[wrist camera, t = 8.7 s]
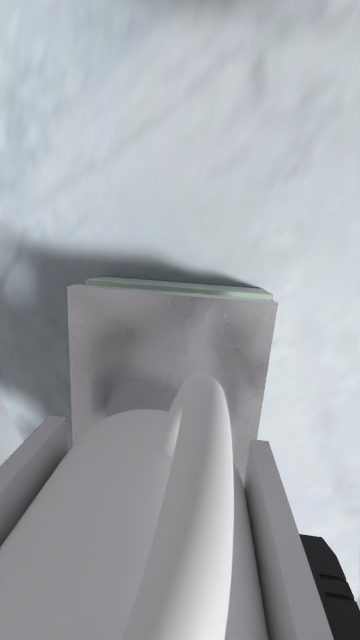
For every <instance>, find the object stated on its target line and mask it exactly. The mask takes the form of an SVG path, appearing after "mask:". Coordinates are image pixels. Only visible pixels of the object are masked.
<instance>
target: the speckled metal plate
mask: <svg viewBox="0 0 360 640" xmlns="http://www.w3.org/2000/svg"><path fill="white" fill-rule="evenodd" d="M67 306H68V335H69V364H70V392H71V421H72V446H73V445H74V444H75V442H76V441H77V440H78V439H79V438H80V437H81V436H82V435H83V434H84V433H85V432H86V431H87V430H88V429H89V428H91V427H92V426H93V425H95V424H96V423H98V422H100V421H101V420H103V419H106V418H108V417H110V416H112V415H115V414H118V413H121V412H125V411H130V410H139V409H154V410H162V411H167V412H169V410H170V408H171V406H172V404H173V401H174V399H175V397H176V395H177V393H178V391H179V390H180V388H181V386H182V384H183V383H184V381H185V380H187V379H188V378H189V377H190V376H192V375H195V374H199V373H202V374H208V375H210V376H211V377H213V378H215V379H216V380H217V381H218V383H219V384H220V385H221V387H222V389H223V391H224V394H225V398H226V402H227V407H228V412H229V418H230V427H231V437H232V452H233V460H234V462H235V464H236V466H237V468H238V471H239V474H240V477H241V480H242V483H243V486H244V479H245V473H246V466H247V459H248V453H249V446H250V439H253V440H257V434H258V428H259V421H260V415H261V408H262V402H263V396H264V389H265V383H266V376H267V370H268V363H269V357H270V351H271V344H272V338H273V331H274V325H275V319H276V312H277V306H278V303H277V302H275V301H274V300H270V299H258V298H245V297H233V296H220V295H207V294H195V293H182V292H170V291H157V290H144V289H132V288H119V287H107V286H94V285H82V284H75V285H70V286H67Z"/></svg>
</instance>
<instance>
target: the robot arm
mask: <svg viewBox="0 0 360 640" xmlns="http://www.w3.org/2000/svg"><path fill="white" fill-rule="evenodd" d="M67 453H68V448H67V424H66V417H62V416H54V415H50V416H49V417H48V418H47V419H46V420H45V421H44V422H43V423H42V424H41V425H40V426H39V427H38V428H37V429H36V430H35V431H34V432H33V433H32V434H31V435H30V436H29V437H28V438H27V439H26V440H25V441H24V442H23V443H22V444H21V445H20V447H19V448H18V449H17V450H16V451H15V452H14V453H13V454H12V455H11V456H10V457H9V458H8V459H7V460H6V461H5V462H4V463H3V464H2V465H1V466H0V547H1V546H2V544H3V543H4V541H5V540H6V539H7V537H8V536H9V534H10V533H11V532H12V530H13V529H14V527H15V526H16V524H17V523H18V522H19V520H20V519H21V517H22V516H23V515H24V513H25V512H26V510H27V509H28V507H29V506H30V505H31V503H32V502H33V500H34V499H35V498H36V496H37V495H38V493H39V492H40V490H41V489H42V488H43V486H44V485H45V483H46V482H47V481H48V479H49V478H50V476H51V475H52V473H53V472H54V471H55V469H56V468H57V466H58V465H59V464H60V462H61V461H62V459H63V458H64V457H65V455H66V454H67ZM243 488H244V492H245V497H246V502H247V508H248V514H249V520H250V526H251V532H252V539H253V545H254V551H255V557H256V564H257V570H258V576H259V582H260V589H261V595H262V601H263V607H264V614H265V620H266V626H267V632H268V639H269V640H360V610H359V608H358V605H357V603H356V602H355V601H354V596H353V594H352V591H351V589H350V587H349V584H348V582H346V577H345V575H344V573H343V570H342V568H341V566H340V563H339V561H338V559H337V556H336V555H335V554H334V552H333V551H332V550H331V549H330V547H329V546H328V545H327V543H326V542H325V541H324V539H323V538H322V537H316V536H309V535H302V534H299V533H298V530H297V527H296V523H295V520H294V517H293V514H292V511H291V508H290V505H289V502H288V499H287V496H286V493H285V490H284V487H283V484H282V481H281V478H280V475H279V472H278V469H277V466H276V463H275V460H274V457H273V454H272V451H271V448H270V445H269V442H268V441H261V440H253V439H250V446H249V453H248V459H247V466H246V473H245V479H244V486H243Z"/></svg>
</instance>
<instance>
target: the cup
mask: <svg viewBox="0 0 360 640" xmlns="http://www.w3.org/2000/svg"><path fill="white" fill-rule="evenodd" d="M0 640H269V639H268V632H267V626H266V620H265V614H264V607H263V601H262V595H261V589H260V582H259V576H258V570H257V564H256V557H255V551H254V545H253V539H252V532H251V526H250V520H249V514H248V508H247V502H246V497H245V492H244V488H243V483H242V480H241V477H240V474H239V471H238V468H237V466H236V464H235V462H234V460H233V452H232V437H231V427H230V418H229V412H228V407H227V402H226V398H225V394H224V391H223V389H222V387H221V385H220V384H219V383H218V381H217V380H216V379H215V378H213V377H211V376H210V375H208V374H202V373H199V374H195V375H192V376H190V377H189V378H188V379H187V380H185V381H184V383H183V384H182V386H181V388H180V390H179V391H178V393H177V395H176V397H175V399H174V401H173V404H172V406H171V408H170V410H169V412H167V411H162V410H154V409H139V410H130V411H125V412H121V413H118V414H115V415H112V416H110V417H108V418H106V419H103V420H101V421H100V422H98V423H96V424H95V425H93V426H92V427H91V428H89V429H88V430H87V431H86V432H85V433H84V434H83V435H82V436H81V437H80V438H79V439H78V440H77V441H76V442H75V444H74V445H73V446H72V447H71V449H70V450H69V451H68V453H67V454H66V455H65V457H64V458H63V459H62V461H61V462H60V464H59V465H58V466H57V468H56V469H55V471H54V472H53V473H52V475H51V476H50V478H49V479H48V481H47V482H46V483H45V485H44V486H43V488H42V489H41V490H40V492H39V493H38V495H37V496H36V498H35V499H34V500H33V502H32V503H31V505H30V506H29V507H28V509H27V510H26V512H25V513H24V515H23V516H22V517H21V519H20V520H19V522H18V523H17V524H16V526H15V527H14V529H13V530H12V532H11V533H10V534H9V536H8V537H7V539H6V540H5V541H4V543H3V544H2V546H1V547H0Z"/></svg>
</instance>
